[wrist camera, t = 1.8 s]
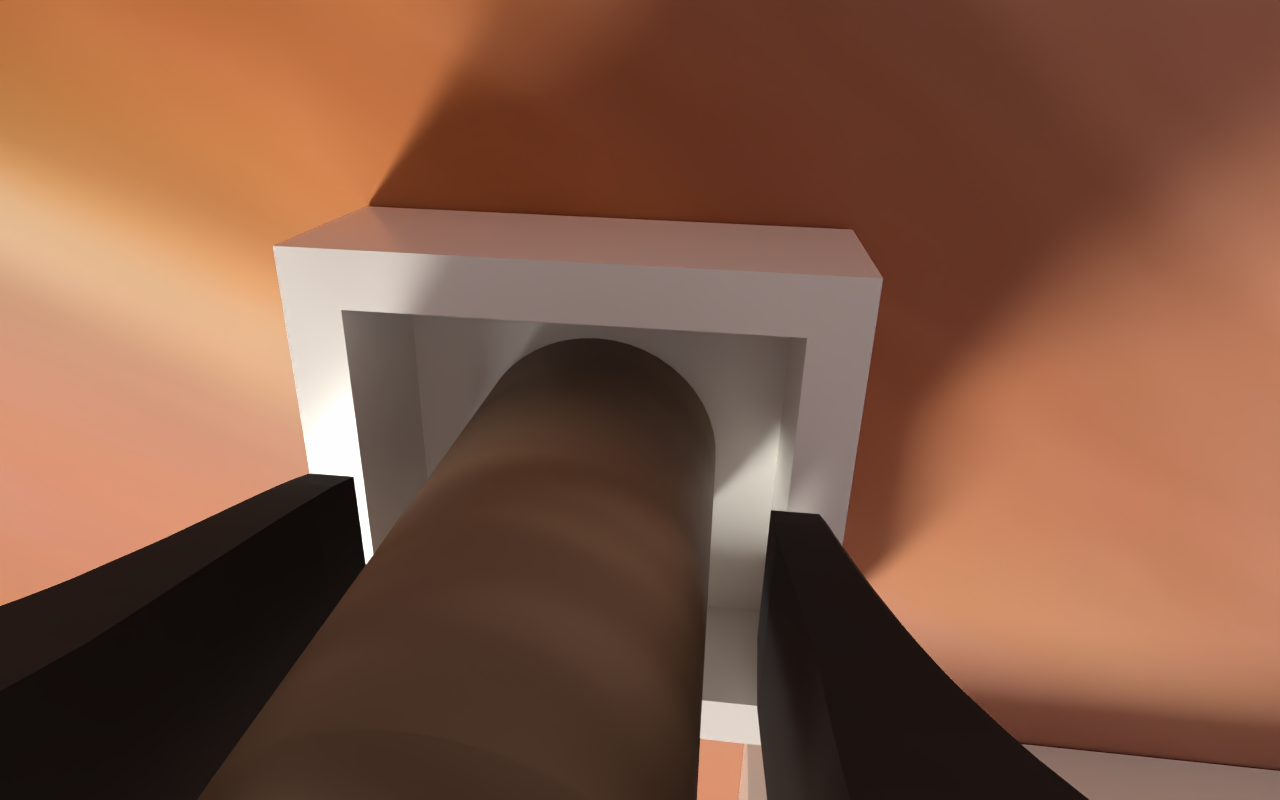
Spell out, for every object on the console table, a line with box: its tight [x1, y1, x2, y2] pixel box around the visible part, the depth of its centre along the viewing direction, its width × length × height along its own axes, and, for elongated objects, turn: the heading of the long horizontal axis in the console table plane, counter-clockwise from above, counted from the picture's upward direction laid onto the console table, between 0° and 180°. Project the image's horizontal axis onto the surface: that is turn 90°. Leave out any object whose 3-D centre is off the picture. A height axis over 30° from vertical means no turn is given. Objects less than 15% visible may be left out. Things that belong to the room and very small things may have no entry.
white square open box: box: [273, 206, 883, 745], centre depth 13 cm, size 8×8×3 cm
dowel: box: [197, 338, 716, 800], centre depth 10 cm, size 4×4×8 cm
